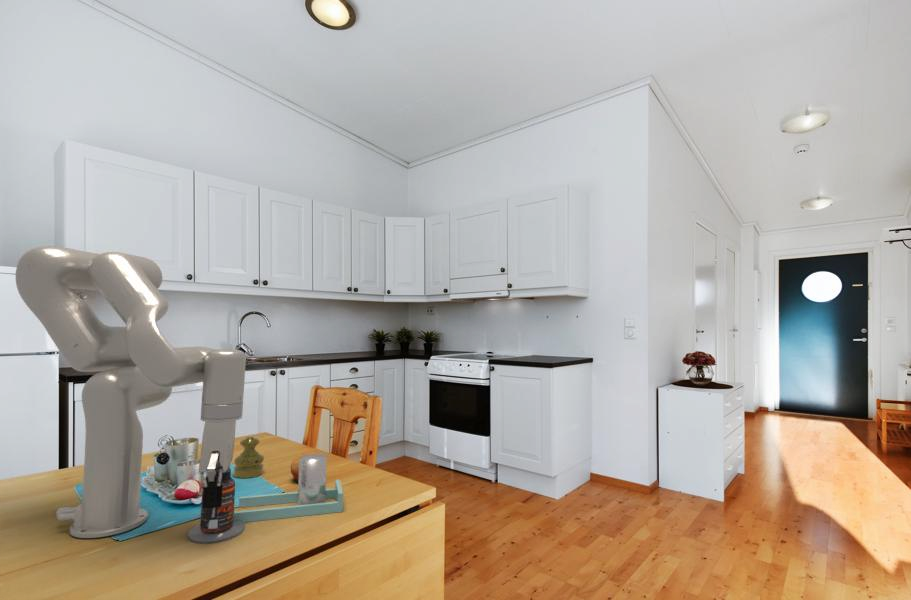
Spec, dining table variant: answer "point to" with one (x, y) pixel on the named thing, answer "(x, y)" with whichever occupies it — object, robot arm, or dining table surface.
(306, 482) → the can
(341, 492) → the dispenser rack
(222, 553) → the dining table surface
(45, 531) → the dining table surface
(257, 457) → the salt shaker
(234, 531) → the coaster
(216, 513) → the supplement bottle
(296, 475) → the fruit
